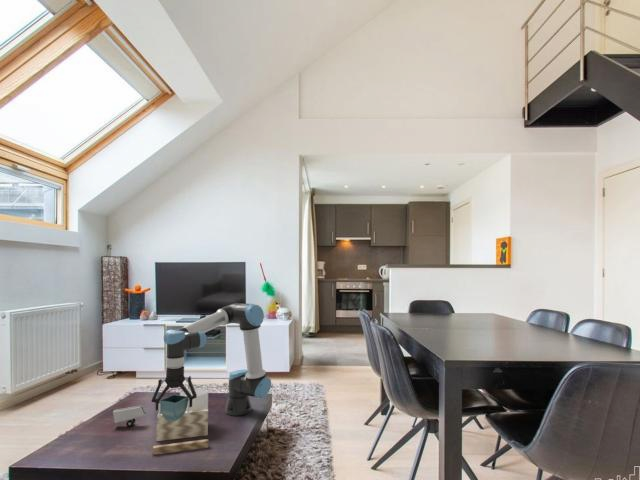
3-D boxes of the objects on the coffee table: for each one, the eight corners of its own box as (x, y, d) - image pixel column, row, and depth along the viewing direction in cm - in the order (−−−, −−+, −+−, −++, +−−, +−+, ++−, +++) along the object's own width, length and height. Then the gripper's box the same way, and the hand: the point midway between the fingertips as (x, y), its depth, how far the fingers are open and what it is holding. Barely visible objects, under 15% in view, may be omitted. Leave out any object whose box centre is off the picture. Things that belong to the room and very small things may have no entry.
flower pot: (188, 416, 172) (189, 396, 173) (175, 424, 164) (175, 402, 165) (173, 413, 175) (173, 394, 176) (159, 421, 167) (159, 400, 168)
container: (174, 427, 201) (175, 392, 203) (198, 419, 212) (199, 386, 213) (187, 435, 192) (188, 398, 193) (212, 426, 202) (213, 391, 203)
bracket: (115, 430, 199) (145, 423, 201) (112, 412, 199) (141, 404, 202) (118, 427, 203) (147, 420, 205) (115, 409, 203) (144, 402, 206)
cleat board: (207, 433, 193) (208, 409, 194) (208, 447, 178) (208, 421, 179) (156, 439, 186) (157, 414, 187) (152, 454, 171) (153, 427, 172)
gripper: (203, 362, 178) (201, 409, 177) (147, 366, 172) (146, 415, 170) (202, 366, 171) (201, 416, 170) (145, 370, 164) (143, 422, 163)
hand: (174, 415), depth 170 cm, fingers closed on flower pot, 11 cm apart
